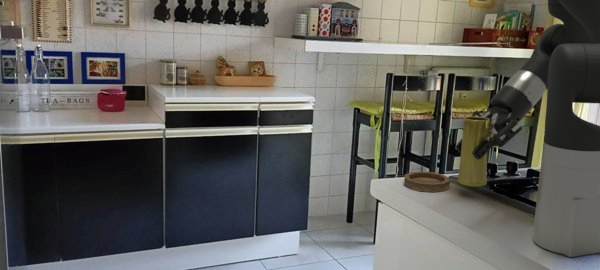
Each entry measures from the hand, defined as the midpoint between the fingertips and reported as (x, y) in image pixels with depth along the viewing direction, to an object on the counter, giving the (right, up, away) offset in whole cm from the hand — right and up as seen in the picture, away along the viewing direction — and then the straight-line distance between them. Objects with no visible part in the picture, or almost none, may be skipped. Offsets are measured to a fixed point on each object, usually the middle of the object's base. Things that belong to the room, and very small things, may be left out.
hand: (466, 153), depth 107 cm
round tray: (-7, -8, +8) cm, 13 cm away
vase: (+2, -7, +2) cm, 7 cm away
